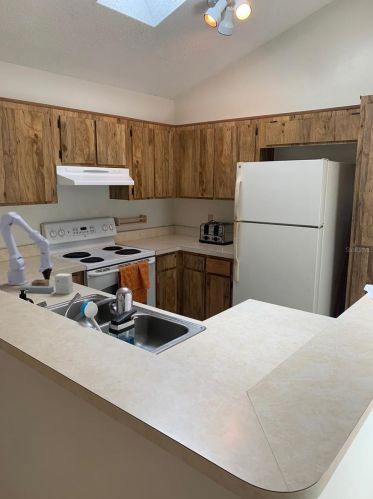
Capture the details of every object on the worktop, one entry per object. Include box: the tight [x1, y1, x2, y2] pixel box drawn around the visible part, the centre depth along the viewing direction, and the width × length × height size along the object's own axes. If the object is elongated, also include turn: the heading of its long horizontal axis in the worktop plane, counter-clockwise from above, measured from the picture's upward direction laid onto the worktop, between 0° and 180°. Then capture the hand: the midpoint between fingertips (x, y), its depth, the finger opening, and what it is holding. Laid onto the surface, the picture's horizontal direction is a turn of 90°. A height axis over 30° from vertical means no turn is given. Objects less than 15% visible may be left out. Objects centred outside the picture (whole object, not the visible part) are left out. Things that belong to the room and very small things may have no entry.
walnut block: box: [31, 279, 50, 286], centre depth 226 cm, size 8×6×4 cm
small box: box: [54, 273, 74, 295], centre depth 215 cm, size 8×6×10 cm
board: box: [20, 285, 55, 294], centre depth 217 cm, size 18×3×3 cm, turn 83°
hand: (47, 280), depth 235 cm, fingers closed
